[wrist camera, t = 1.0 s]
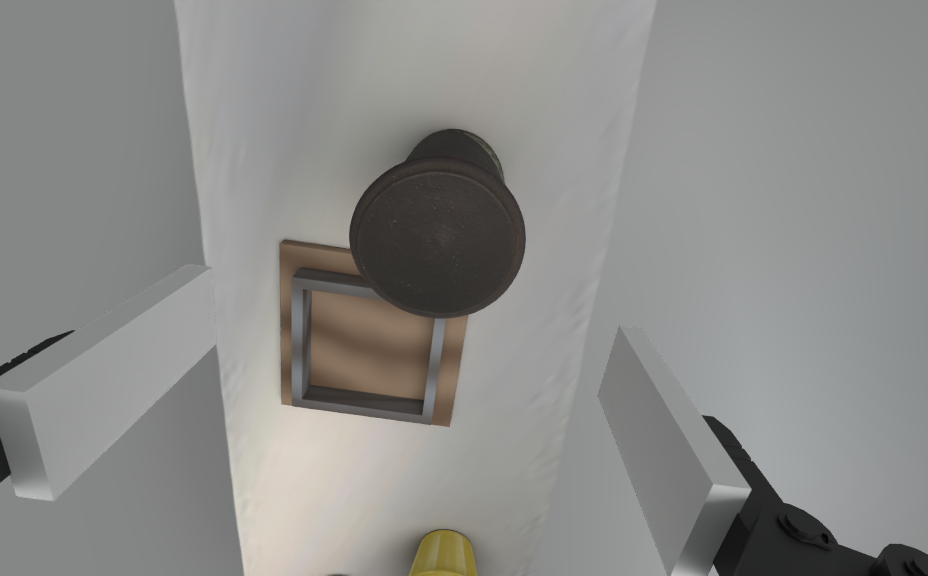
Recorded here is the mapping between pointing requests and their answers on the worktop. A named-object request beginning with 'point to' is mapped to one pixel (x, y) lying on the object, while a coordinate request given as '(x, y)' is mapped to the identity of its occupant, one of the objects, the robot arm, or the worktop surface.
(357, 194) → the worktop surface
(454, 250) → the container
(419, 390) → the collar stand
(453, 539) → the plant pot
